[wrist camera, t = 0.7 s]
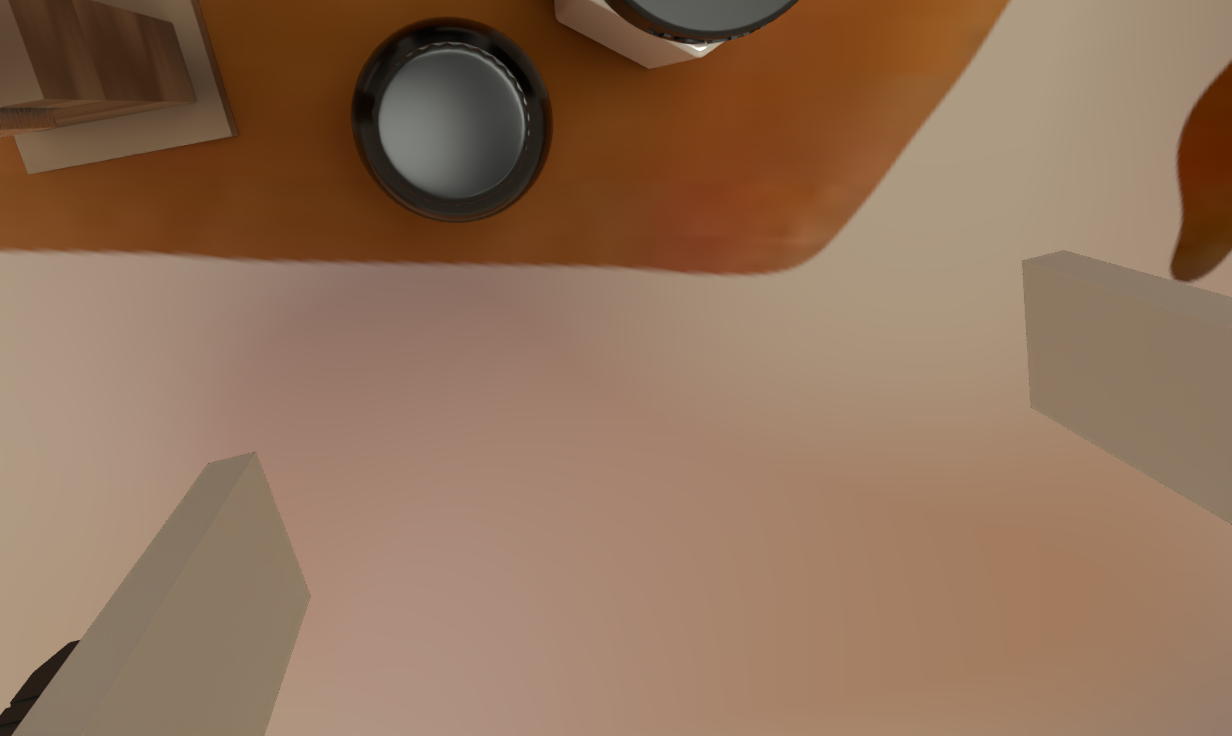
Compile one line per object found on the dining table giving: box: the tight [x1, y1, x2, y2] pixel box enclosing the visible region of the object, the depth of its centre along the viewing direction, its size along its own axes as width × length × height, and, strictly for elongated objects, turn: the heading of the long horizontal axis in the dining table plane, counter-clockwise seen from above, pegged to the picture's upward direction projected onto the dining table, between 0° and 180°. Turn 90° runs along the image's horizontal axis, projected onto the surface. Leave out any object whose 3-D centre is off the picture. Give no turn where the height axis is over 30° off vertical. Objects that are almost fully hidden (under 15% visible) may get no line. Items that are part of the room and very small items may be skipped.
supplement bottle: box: [351, 17, 553, 223], centre depth 32 cm, size 7×7×12 cm
